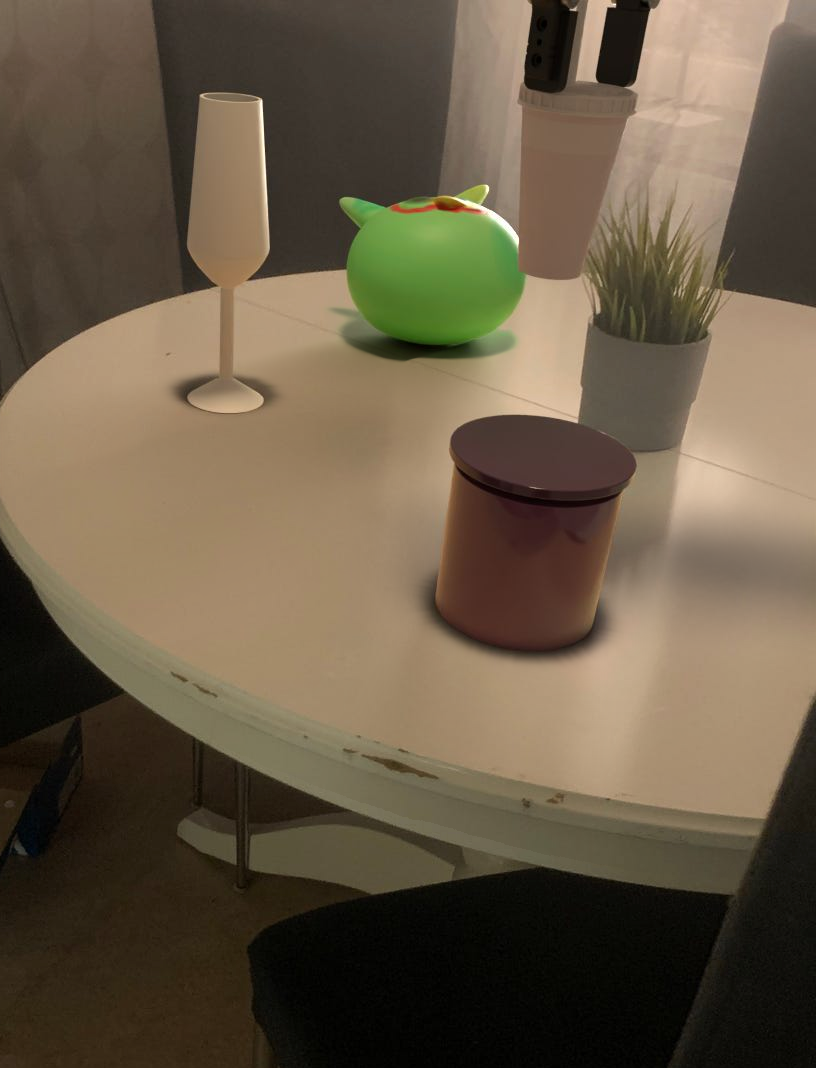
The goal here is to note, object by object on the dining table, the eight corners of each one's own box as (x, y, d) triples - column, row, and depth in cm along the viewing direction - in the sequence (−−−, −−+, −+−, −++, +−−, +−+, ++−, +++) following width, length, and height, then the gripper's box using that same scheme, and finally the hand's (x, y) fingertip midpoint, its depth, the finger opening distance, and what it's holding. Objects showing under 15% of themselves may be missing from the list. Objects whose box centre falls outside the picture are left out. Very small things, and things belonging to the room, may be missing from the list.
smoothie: (520, 249, 69) (558, -13, 61) (620, 270, 66) (673, -2, 58) (476, 271, 64) (512, -10, 56) (582, 294, 61) (634, 2, 54)
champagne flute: (240, 380, 102) (247, 90, 89) (278, 406, 97) (291, 104, 84) (173, 391, 98) (171, 91, 85) (209, 418, 94) (212, 105, 81)
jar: (494, 554, 77) (520, 401, 71) (630, 618, 71) (671, 456, 65) (393, 608, 70) (412, 443, 64) (534, 683, 64) (570, 509, 58)
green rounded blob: (363, 368, 107) (377, 207, 99) (323, 313, 120) (333, 168, 112) (537, 365, 111) (565, 211, 103) (480, 312, 125) (500, 172, 117)
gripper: (638, -359, 44) (562, 107, 53) (796, -297, 53) (708, 92, 62) (487, -346, 48) (441, 84, 57) (658, -291, 57) (594, 73, 66)
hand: (580, 86), depth 60 cm, fingers closed on smoothie, 6 cm apart
